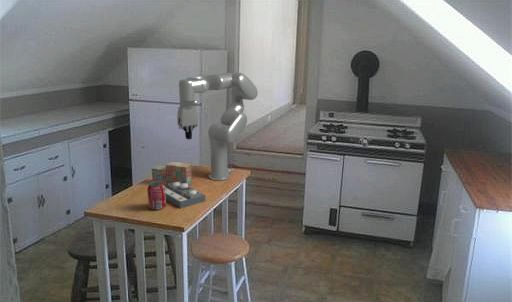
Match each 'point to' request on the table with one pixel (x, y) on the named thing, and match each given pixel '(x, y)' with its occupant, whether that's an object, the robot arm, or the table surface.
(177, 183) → the button
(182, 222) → the table surface
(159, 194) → the beverage can
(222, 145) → the robot arm
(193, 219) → the table surface
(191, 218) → the table surface
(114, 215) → the table surface
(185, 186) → the button middle
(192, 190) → the button
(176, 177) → the stack of blocks
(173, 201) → the button board
